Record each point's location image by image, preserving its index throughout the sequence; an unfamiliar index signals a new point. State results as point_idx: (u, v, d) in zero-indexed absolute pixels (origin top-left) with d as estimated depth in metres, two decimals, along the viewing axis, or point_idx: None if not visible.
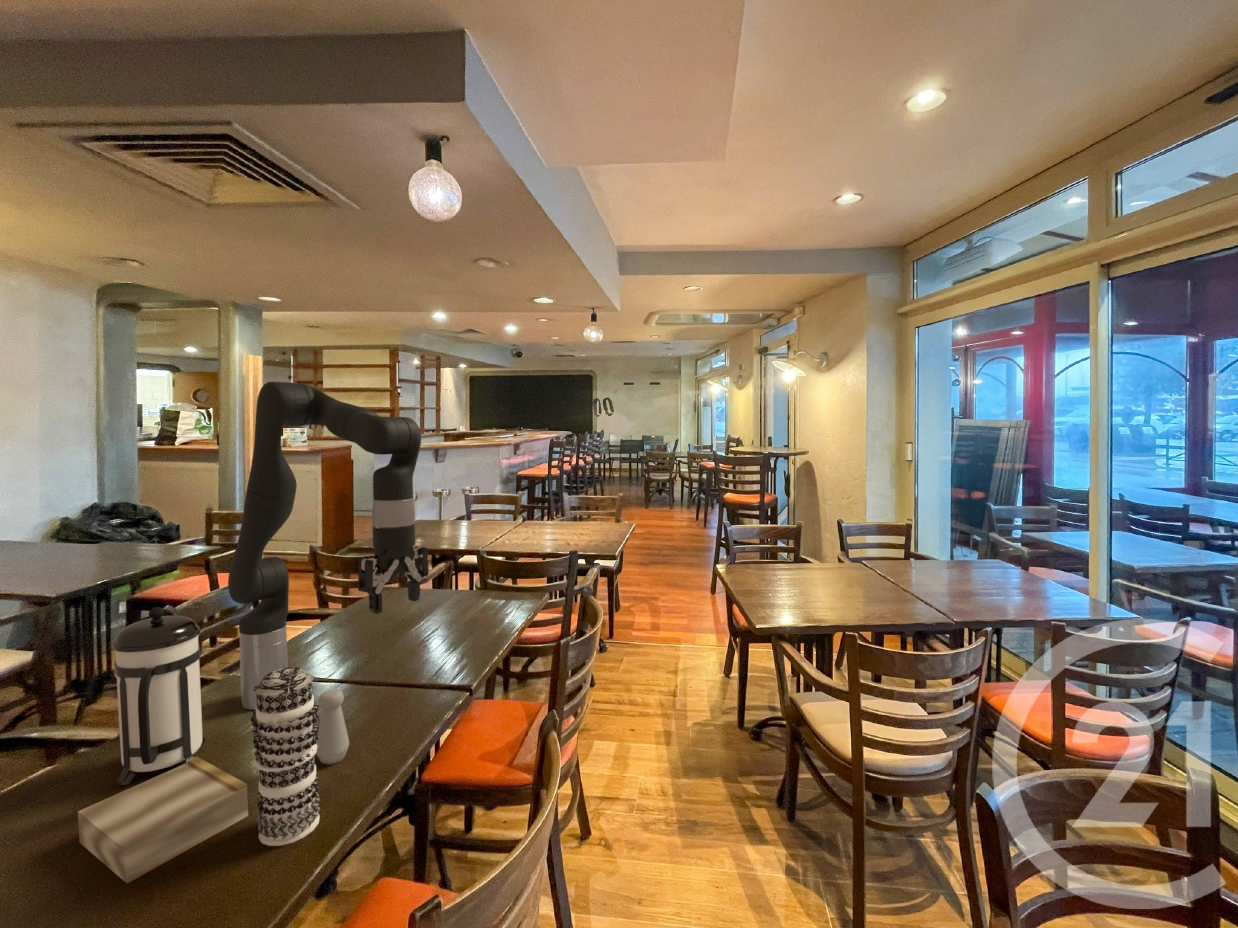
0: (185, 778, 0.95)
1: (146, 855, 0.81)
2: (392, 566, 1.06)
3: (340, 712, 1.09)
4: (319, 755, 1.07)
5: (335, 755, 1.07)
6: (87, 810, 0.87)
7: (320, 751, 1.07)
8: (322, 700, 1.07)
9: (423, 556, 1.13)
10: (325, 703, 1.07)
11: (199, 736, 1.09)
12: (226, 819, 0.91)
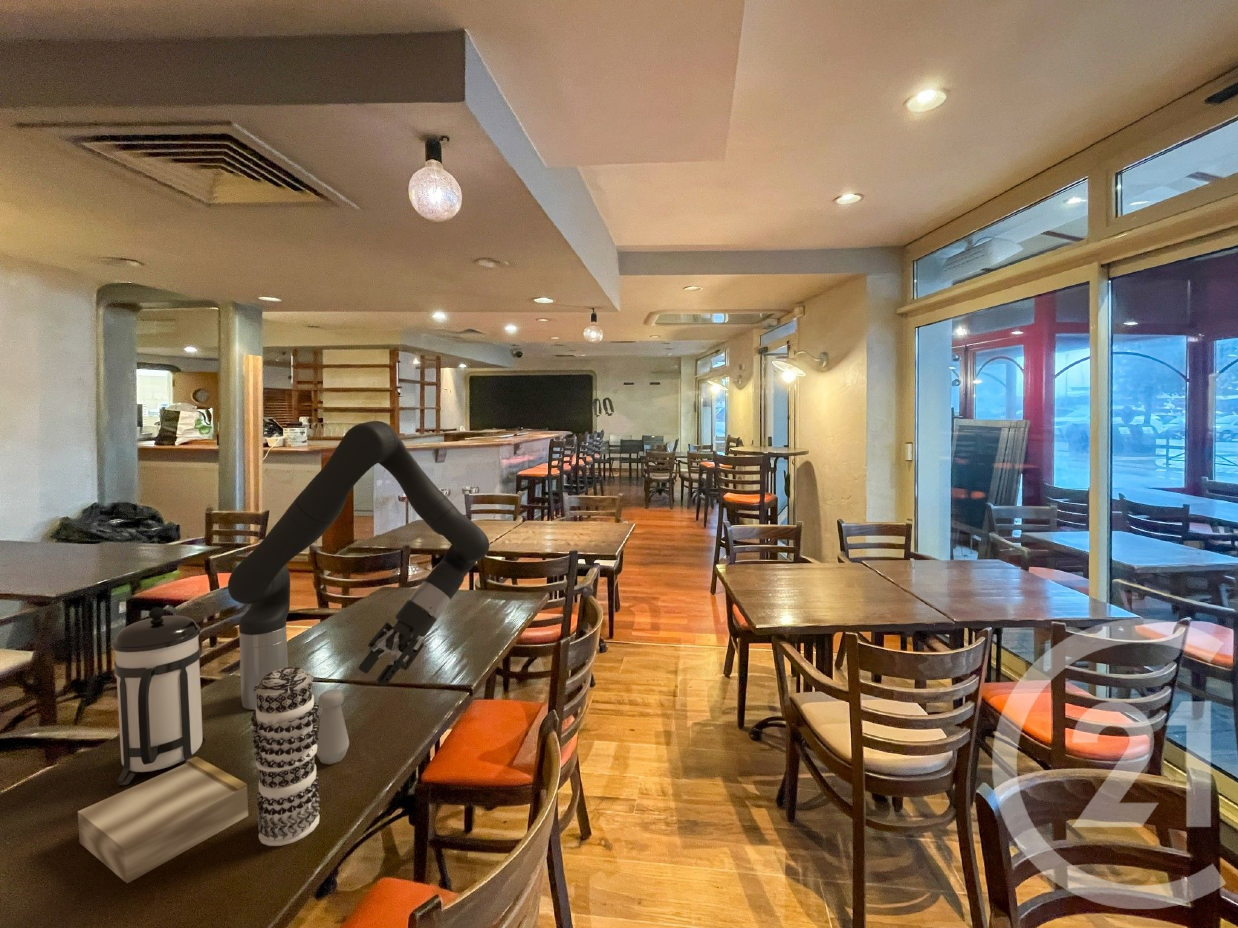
0: (185, 778, 0.95)
1: (146, 855, 0.81)
2: None
3: (340, 712, 1.09)
4: (319, 755, 1.07)
5: (335, 755, 1.07)
6: (87, 810, 0.87)
7: (320, 751, 1.07)
8: (322, 700, 1.07)
9: None
10: (325, 703, 1.07)
11: (199, 736, 1.09)
12: (226, 819, 0.91)
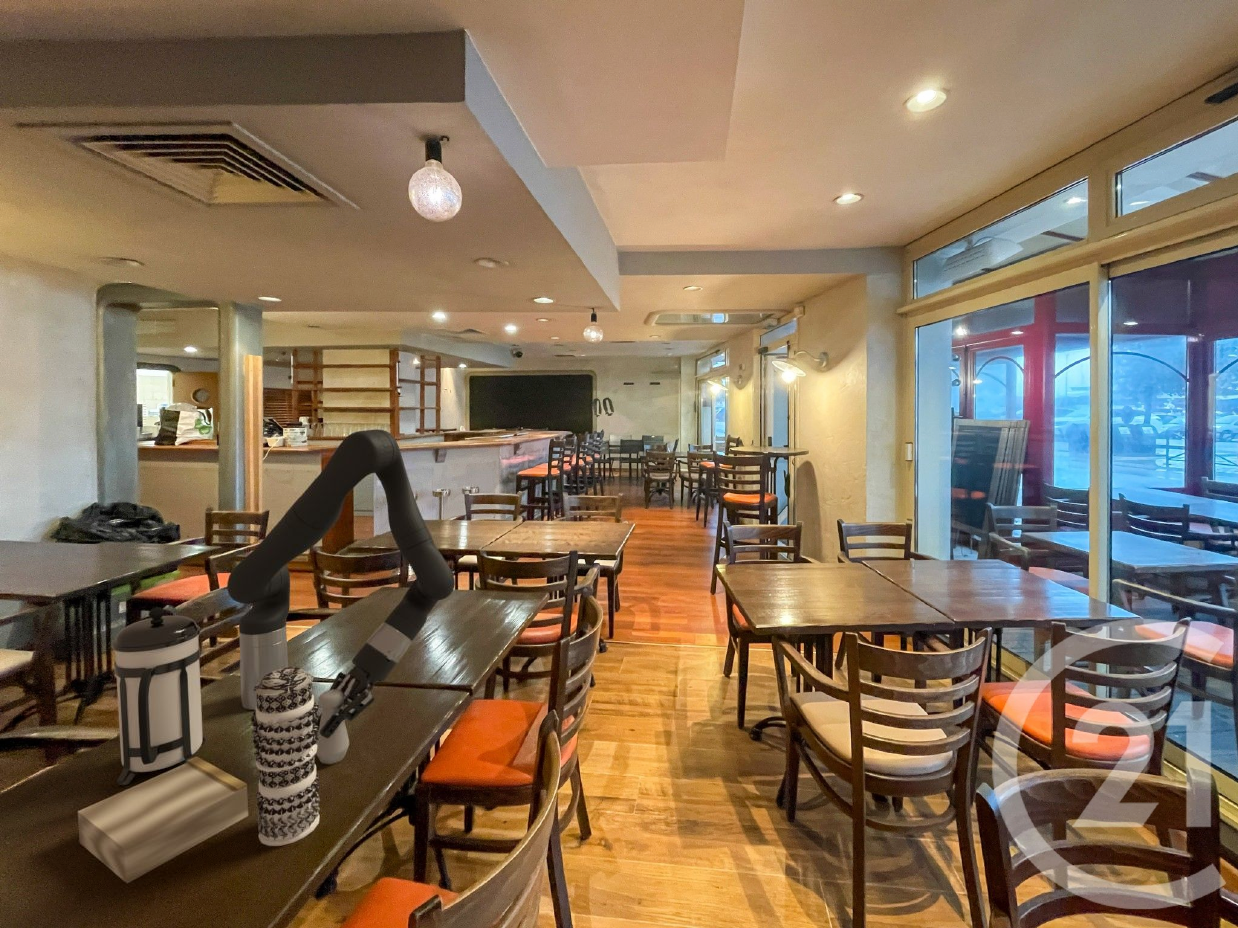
0: (185, 778, 0.95)
1: (146, 855, 0.81)
2: None
3: None
4: (319, 755, 1.07)
5: (335, 755, 1.07)
6: (87, 810, 0.87)
7: (320, 750, 1.07)
8: (321, 700, 1.07)
9: None
10: (325, 703, 1.07)
11: (199, 736, 1.09)
12: (226, 819, 0.91)
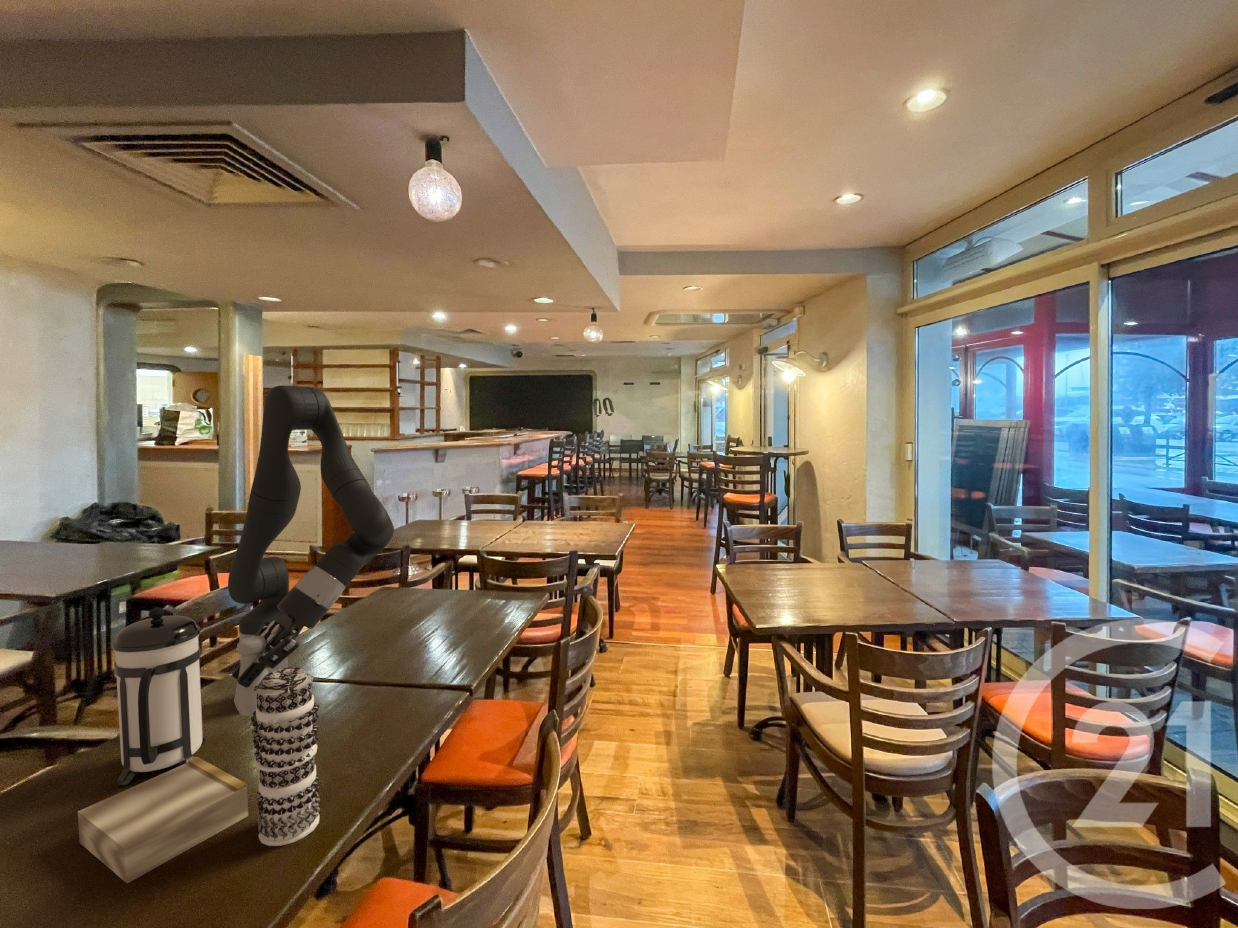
0: (185, 778, 0.95)
1: (146, 855, 0.81)
2: None
3: None
4: (237, 706, 0.98)
5: (256, 706, 0.98)
6: (87, 810, 0.87)
7: (239, 701, 0.98)
8: (240, 646, 0.98)
9: None
10: (244, 649, 0.97)
11: (199, 736, 1.09)
12: (226, 819, 0.91)
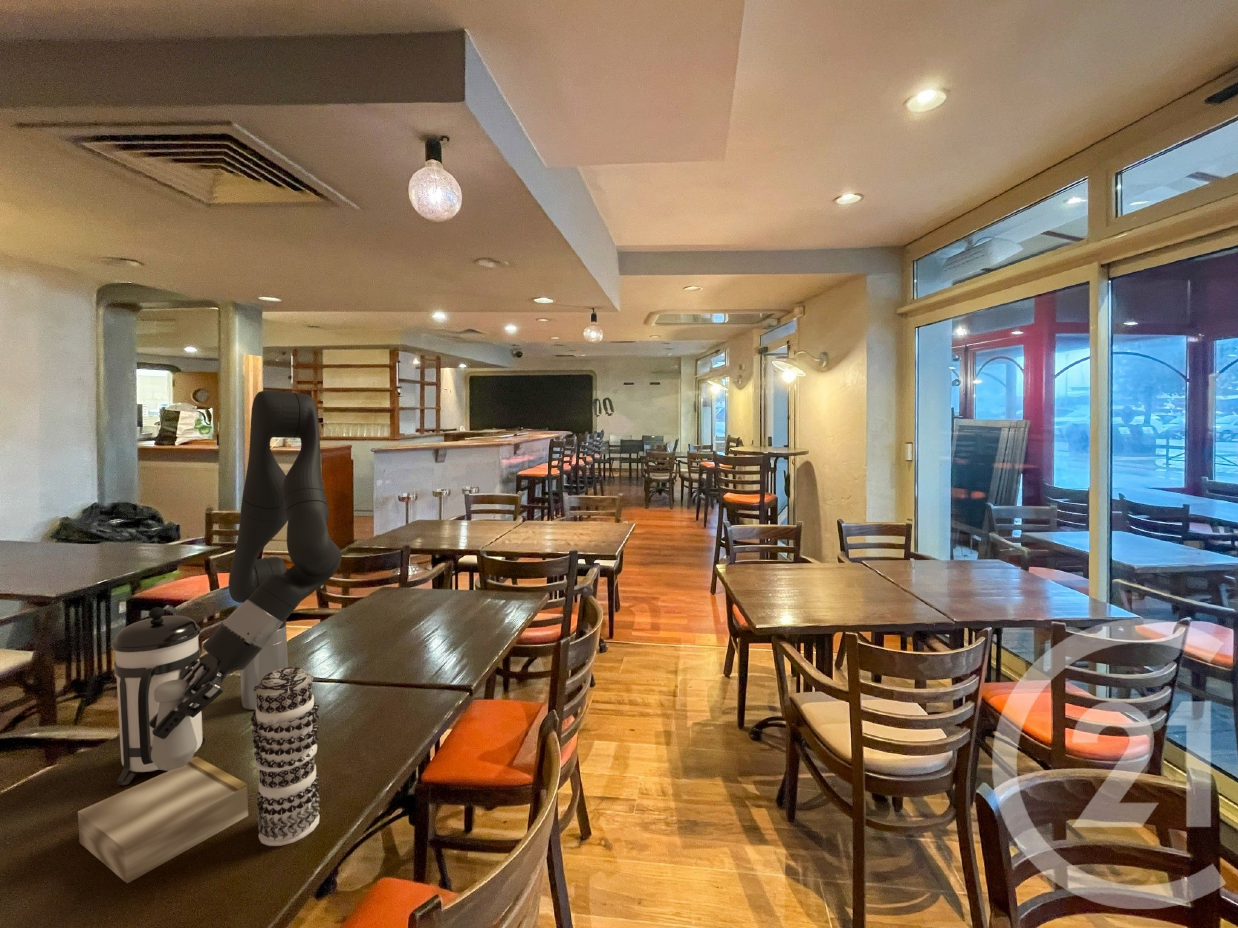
0: (185, 778, 0.95)
1: (146, 855, 0.81)
2: None
3: None
4: (154, 759, 0.88)
5: (174, 759, 0.88)
6: (87, 810, 0.87)
7: (155, 754, 0.87)
8: (156, 692, 0.88)
9: None
10: (160, 695, 0.87)
11: (199, 736, 1.09)
12: (226, 819, 0.91)
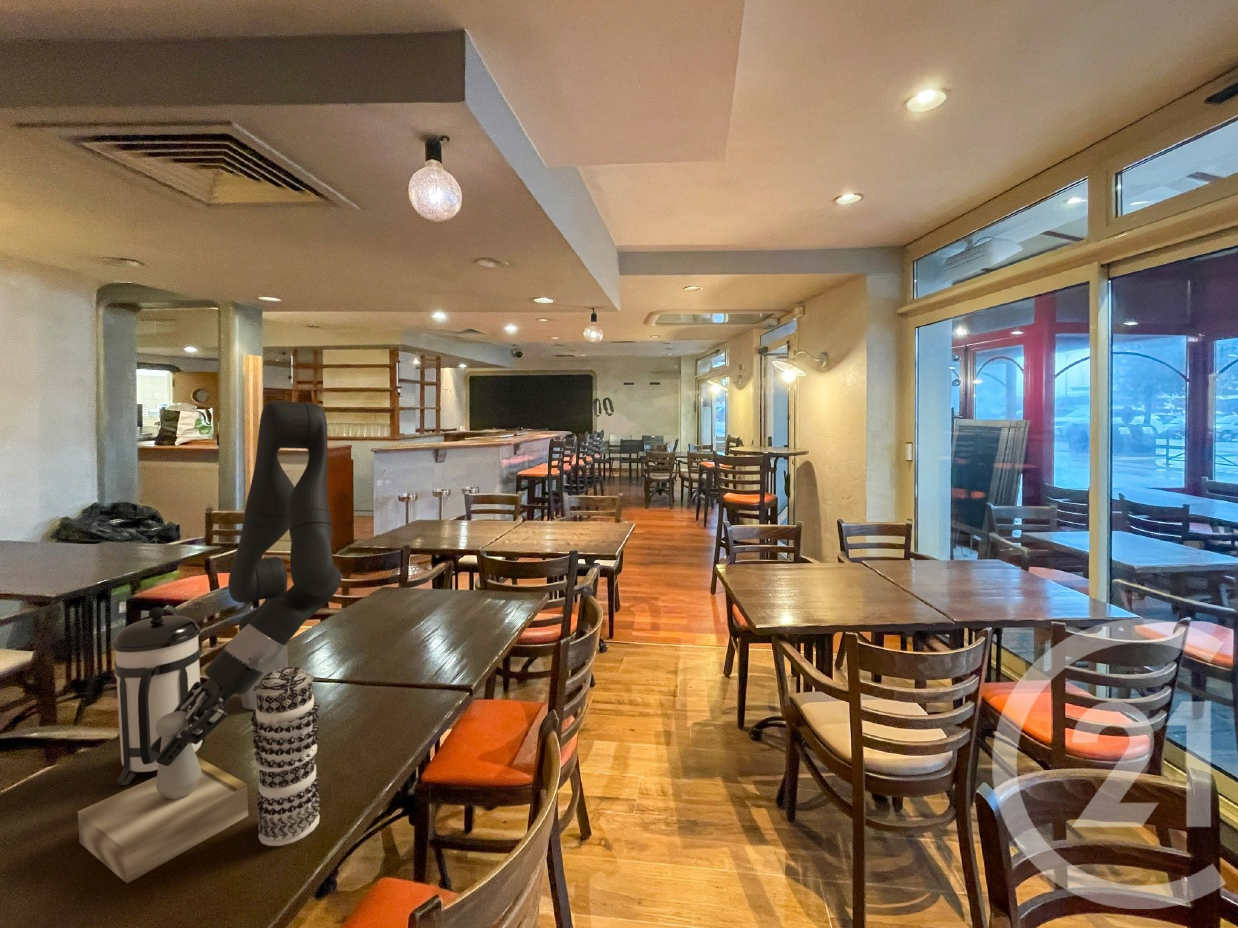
0: None
1: (146, 855, 0.81)
2: None
3: None
4: (159, 790, 0.89)
5: (179, 790, 0.89)
6: (87, 810, 0.87)
7: (160, 785, 0.89)
8: (158, 727, 0.88)
9: None
10: (162, 730, 0.88)
11: None
12: (226, 819, 0.91)
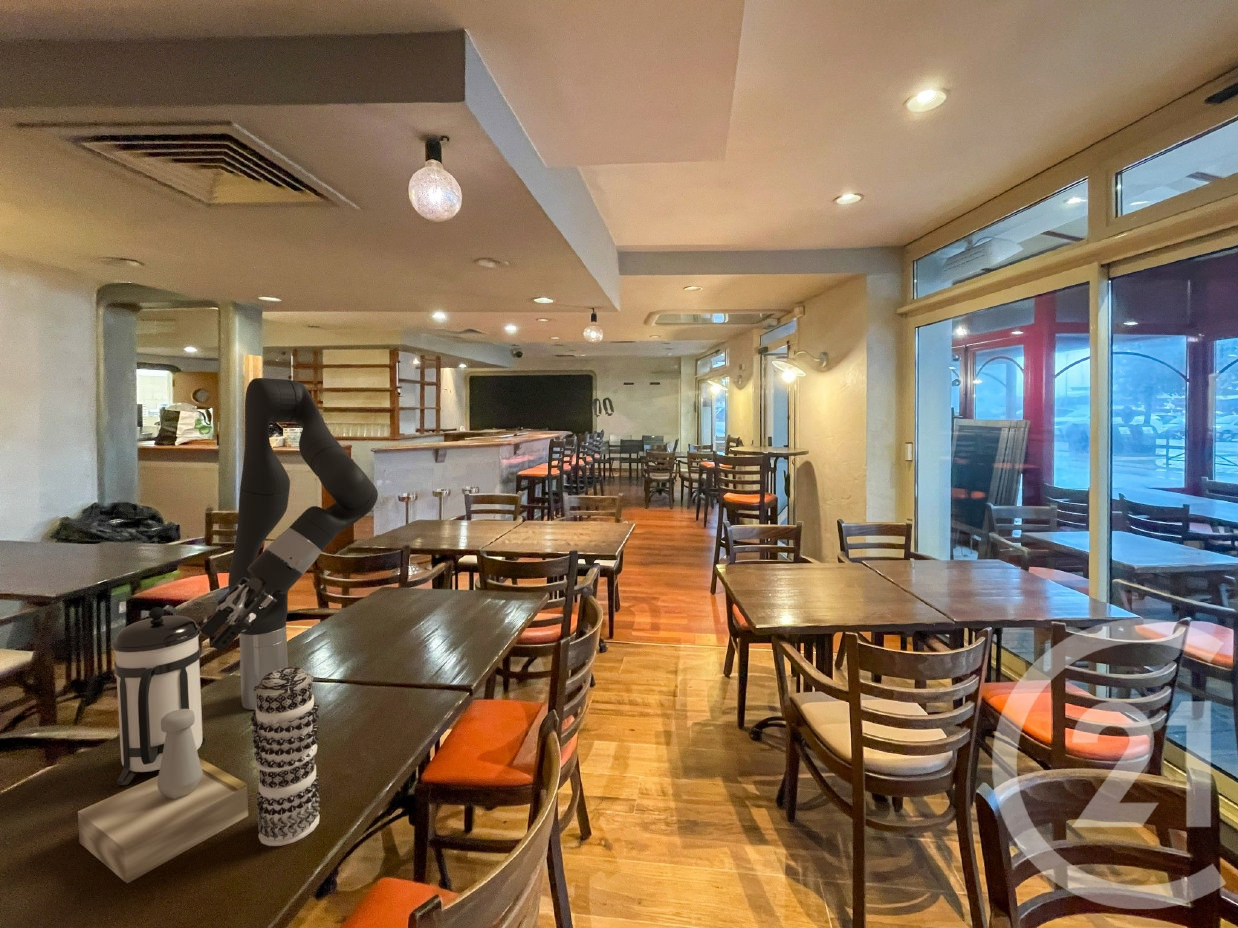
0: None
1: (146, 855, 0.81)
2: None
3: (189, 736, 0.91)
4: (160, 788, 0.89)
5: (180, 788, 0.89)
6: (87, 810, 0.87)
7: (161, 783, 0.89)
8: (163, 722, 0.89)
9: None
10: (167, 726, 0.89)
11: (199, 736, 1.09)
12: (226, 819, 0.91)
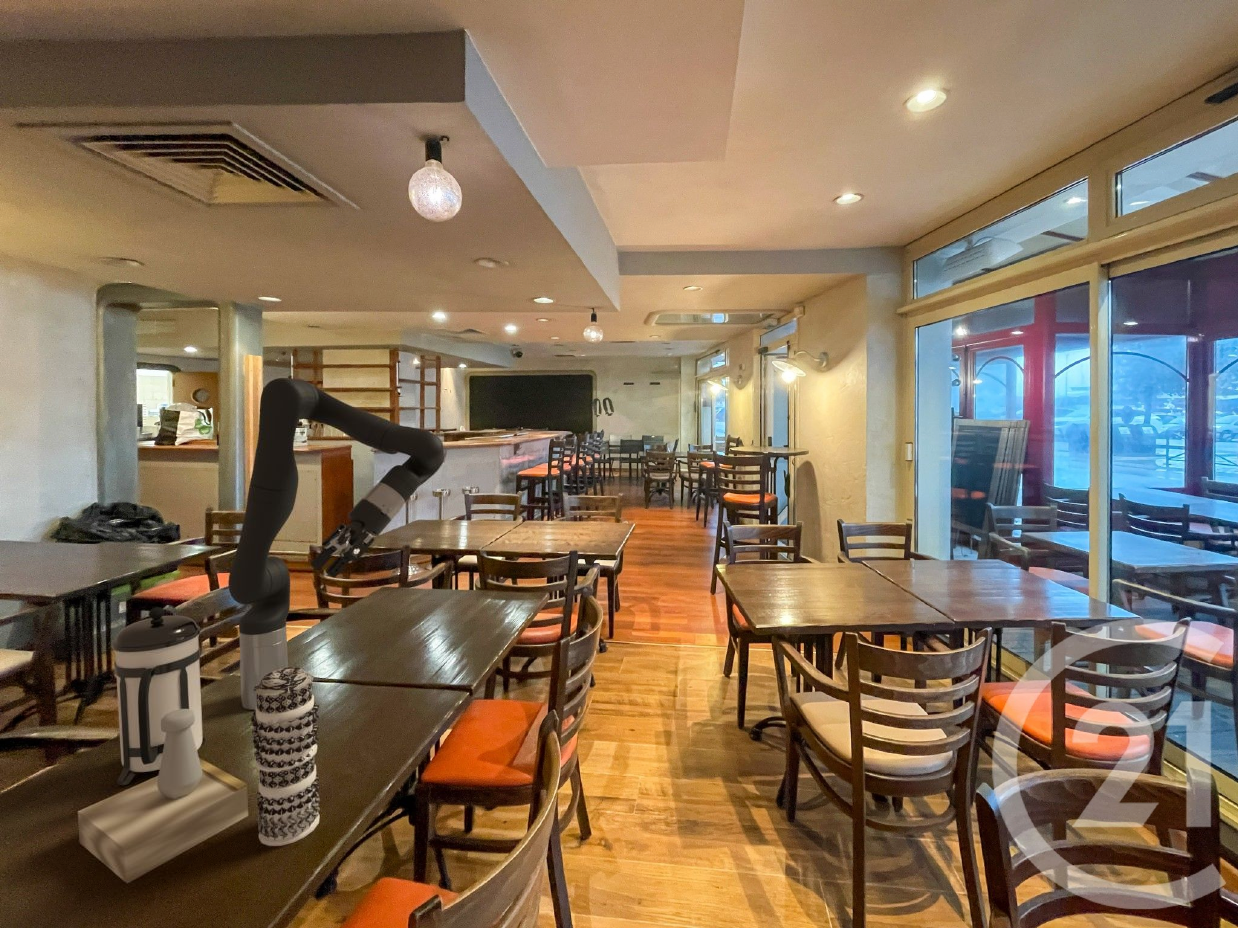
0: None
1: (146, 855, 0.81)
2: None
3: (189, 736, 0.91)
4: (160, 788, 0.89)
5: (180, 788, 0.89)
6: (87, 810, 0.87)
7: (161, 783, 0.89)
8: (163, 722, 0.89)
9: None
10: (167, 726, 0.89)
11: (199, 736, 1.09)
12: (226, 819, 0.91)
